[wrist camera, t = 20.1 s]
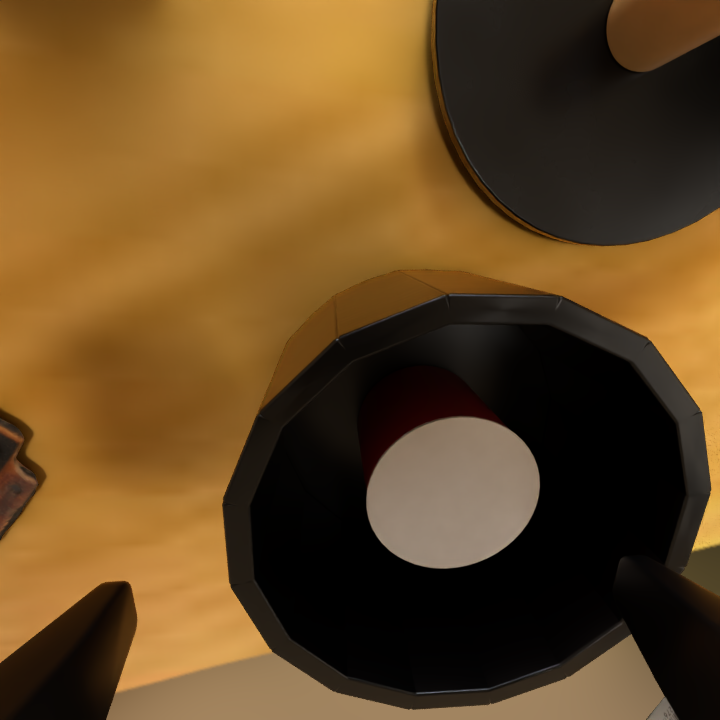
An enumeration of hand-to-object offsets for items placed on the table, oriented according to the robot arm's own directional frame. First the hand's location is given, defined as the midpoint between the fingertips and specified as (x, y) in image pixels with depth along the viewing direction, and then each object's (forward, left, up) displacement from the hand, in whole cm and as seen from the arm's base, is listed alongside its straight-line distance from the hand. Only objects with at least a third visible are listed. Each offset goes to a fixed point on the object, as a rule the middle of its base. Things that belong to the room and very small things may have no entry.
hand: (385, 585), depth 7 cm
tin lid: (-12, +8, -8) cm, 16 cm away
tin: (+1, +2, -8) cm, 8 cm away
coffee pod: (+1, +2, -8) cm, 8 cm away
